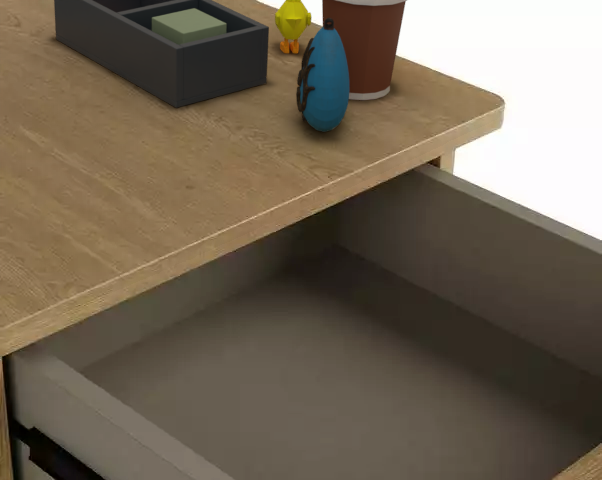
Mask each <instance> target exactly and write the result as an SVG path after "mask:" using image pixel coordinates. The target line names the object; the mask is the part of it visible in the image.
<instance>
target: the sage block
mask: <svg viewBox="0 0 602 480" xmlns="http://www.w3.org/2000/svg"><path fill="white" fill-rule="evenodd" d="M226 25H227V24H226V23H224V22H222V21H220V20H218V19H216V18H214V17H212V16H210V15H208V14H206V13H204V12H201V11H199V10H197V9H195V8H193V9H188V10H184V11H179V12H175V13H170V14H166V15H161V16H157V17H152V31H153V32H155V33H156V34H158V35H160V36H162V37H164V38H166V39H168V40H170V41H172V42H174V43H176V44H178V45H179V44H184V43H188V42H192V41H196V40H201V39H205V38H209V37H213V36H217V35H222V34H226Z"/></svg>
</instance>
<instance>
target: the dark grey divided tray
mask: <svg viewBox="0 0 602 480" xmlns="http://www.w3.org/2000/svg"><path fill="white" fill-rule="evenodd" d="M53 6H54V8H53V9H54V30H55V40H56V41H58V42H60V43H62V44H64V46H65V45H66V46H67V47H69V48H70V49H73V51H76V52H78V53H79V54H81V55H83V56H84V57H86V58H88V59H89V60H91V61H94V62H95V63H97V64H98V65H101V66H102V67H104V68H105V69H107V70H109V71H110V72H112V73H115V74H116V75H118V76H120V77H121V78H123V79H125V80H127V81H128V82H129V83H132V84H134V85H136V86H137V87H139V88H140V89H142V90H144V91H146V92H147V93H149V94H151V95H153V96H154V97H157V98H159V99H160V100H161V101H164V102H165V103H167V104H169V105H170V106H172V107H174V108H180V107H184V106H188V105H191V104H195V103H199V102H203V101H206V100H209V99H214V98H217V97H221V96H225V95H228V94H232V93H236V92H239V91H243V90H247V89H250V88H254V87H258V86H262V85H265V84H267V82H268V57H269V37H270V36H269V35H270V27H269V26H267V25H266V24H264V23H261V22H259V21H257V20H255V19H253V18H250V17H249V16H246V15H244V14H242V13H240V12H238V11H237V10H234V9H232V8H229V7H228V6H225V5H223V4H221V3H219V2H217V1H214V0H53ZM193 8H195V9H197V10H199V11H201V12H204V13H206V14H208V15H210V16H212V17H214V18H216V19H218V20H220V21H222V22H224V23H226V24H227V25H226V34H222V35H217V36H213V37H209V38H205V39H201V40H196V41H192V42H188V43H184V44H179V45H178V44H176V43H174V42H172V41H170V40H168V39H166V38H164V37H162V36H160V35H158V34H156V33H155V32H153V31H152V17H157V16H161V15H166V14H170V13H175V12H179V11H184V10H188V9H193Z"/></svg>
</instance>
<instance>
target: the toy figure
mask: <svg viewBox="0 0 602 480" xmlns="http://www.w3.org/2000/svg"><path fill="white" fill-rule="evenodd" d="M274 23H275V27H276V28H277V29H278V31H279V32H280V34H281V36H282V37H283V40H282V41H280V42H279V49H280V51H281V52H283V54H290V51H291V53H292V54H299V50H300V42H299V38H300V36H302V35H303V33H304V32H305V30H306V29H307V27H310V26H311V25H312V13H311V12H309V11H308V9H307V7H306V5H305V4H304V3H303V1H302V0H284V2H283V3H282V4H281V5H280V7H279V8H278V9H277V11H276V12H275V13H274ZM290 40H291V41H290ZM289 41H290V42H289Z"/></svg>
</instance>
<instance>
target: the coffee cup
mask: <svg viewBox="0 0 602 480" xmlns="http://www.w3.org/2000/svg"><path fill="white" fill-rule="evenodd" d="M321 1H322V2H321V3H322V5H321V7H322V12H321V13H322V14H321V15H322V27H324V22H325V20H326V19H327V18H332V19H333V20H334V28H335V30H336V31H337V32H338V34H339V36H340V38H341V41H342V44H343V47H344V51H345V55H346V59H347V65H348V72H349V100H354V101H355V100H357V101H359V100H360V101H367V100H376V99H379V98H383V97H385V96H387V94H389V93H390V91H391V83H392V77H393V72H394V67H395V62H396V58H397V56H396V55H397V52H398V51H397V50H398V46H399V40H400V35H401V30H402V29H401V28H402V23H403V18H404V12H405V7H406V2H407V1H408V0H321ZM327 24H331V22H328V23H327Z"/></svg>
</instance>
